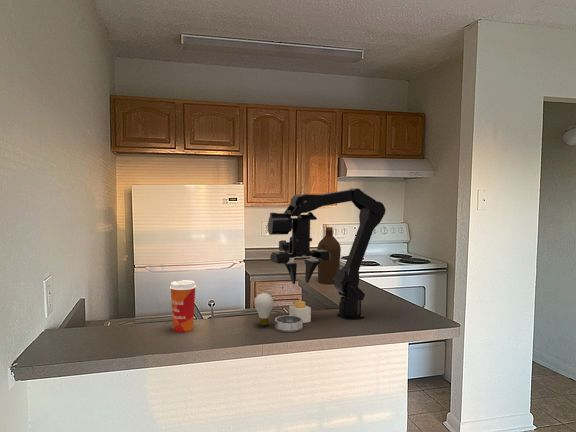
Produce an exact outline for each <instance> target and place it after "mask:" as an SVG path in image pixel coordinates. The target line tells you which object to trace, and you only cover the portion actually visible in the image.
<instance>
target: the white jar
mask: <svg viewBox="0 0 576 432" xmlns="http://www.w3.org/2000/svg"><path fill="white" fill-rule="evenodd" d="M311 311H312V307H310V306H308V305H306V304H305V308H296V307H295V304H292V305H289V311H288V313H289V314H288V315H291V316H298V317H300V318H302V319H303V324H305V323H311V321H312V320H311V315H312V314H311V313H312V312H311Z"/></svg>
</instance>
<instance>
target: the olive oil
mask: <svg viewBox="0 0 576 432" xmlns="http://www.w3.org/2000/svg"><path fill="white" fill-rule="evenodd" d="M333 229H334V227H332V226H326V227H325V230H324V231H325V235H324V237H322V239H321V240H320V241H318V245H317V249H316V250H320V249H322V250H325V251H328V252H329V253H330V260H324V261H322V260H321V259H320V258H318V261H320V262H321V263H320V264H318V265H317V282H318V283H319V284H323V285H334V279H333V278H334V277H335V275H336V270H337V268H339V269H341V267H340V265H341V252H342V250H341V247H342V246H341V244H340V242H339V241H338V240H337V239H336V238H335V236H334V230H333Z"/></svg>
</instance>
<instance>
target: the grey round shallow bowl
mask: <svg viewBox="0 0 576 432" xmlns="http://www.w3.org/2000/svg"><path fill="white" fill-rule="evenodd" d="M303 324H304V323H303V319H302V318H300V317H298V316H291V315H289V314H288V315H287V314H286V315H279V316H277V317H275V318H274V329H275V330H276V331H278V332H281V333H287V334H289V333H291V334H292V333H297V332H300V331H302V330H303V329H304V328H303V326H304V325H303Z"/></svg>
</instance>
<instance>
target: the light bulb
mask: <svg viewBox="0 0 576 432" xmlns="http://www.w3.org/2000/svg"><path fill="white" fill-rule="evenodd" d="M274 304H275V302H274V298H273V297H272V295H270V294H269V293H266V292H262V293H259V294H258V295H256V297H255V299H254V308H255V309H256V312H257V313H258V317H259V318H258V319H259V324H260V325H261V326H262V327H265V326H267V325H268V324H269V317H270V314H271V311H272V309H273V308H274V306H275V305H274Z"/></svg>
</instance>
